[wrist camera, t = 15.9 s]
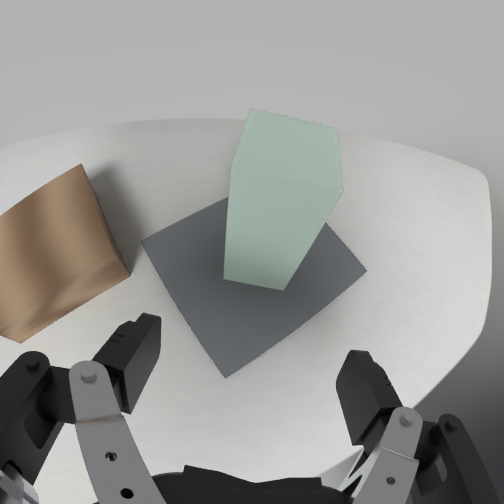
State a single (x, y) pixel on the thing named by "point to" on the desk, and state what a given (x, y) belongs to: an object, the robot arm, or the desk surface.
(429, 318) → the desk surface
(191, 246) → the charcoal mat
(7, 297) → the walnut block
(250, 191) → the sage block
